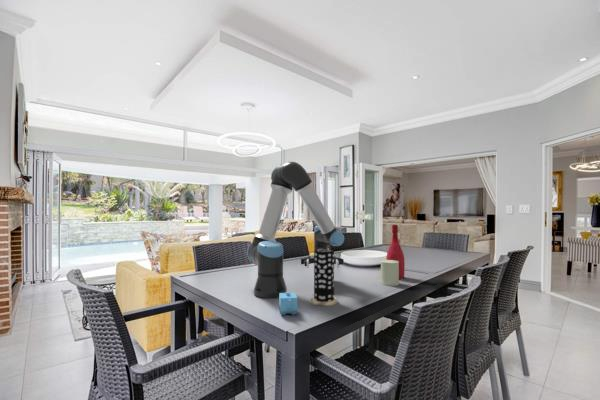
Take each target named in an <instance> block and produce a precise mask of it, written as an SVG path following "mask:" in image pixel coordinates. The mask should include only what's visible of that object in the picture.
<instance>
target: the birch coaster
mask: <svg viewBox="0 0 600 400" xmlns="http://www.w3.org/2000/svg"><path fill="white" fill-rule="evenodd" d="M310 303H311V304H312V305H314V306H319V307H331V306H335V305H337V304H338V298H337V297H335V296H334V300H333V301H329V302H321V301H317V300H315V299H314V296H311V298H310Z"/></svg>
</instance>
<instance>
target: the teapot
mask: <svg viewBox="0 0 600 400" xmlns="http://www.w3.org/2000/svg"><path fill="white" fill-rule="evenodd" d="M278 303H279V306H278V307H279V312H280V314H281V315H282V316H286V314H287V315H288V314H291V315H294V316H295V315H296V314H298V296H297V294H296V292H290V291H287V292H286V293H279V297H278Z"/></svg>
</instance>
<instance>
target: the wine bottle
mask: <svg viewBox="0 0 600 400" xmlns="http://www.w3.org/2000/svg"><path fill="white" fill-rule="evenodd" d="M391 233H392V237H391V244H390V245H389V248H388V249H387V253H386V258H385V260H395V261H398V262H399V280H402V279H404V278H405V268H406V267H405V256H404V251H403V248H402V247H401V244H400V242H399V234H398V233H399V226H398V225H397V224H392V225H391Z"/></svg>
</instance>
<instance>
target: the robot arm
mask: <svg viewBox="0 0 600 400" xmlns="http://www.w3.org/2000/svg"><path fill="white" fill-rule="evenodd" d="M270 176H271V177H270V179H271V182H270V183H271V184H270V188H271V192H270V197H269V199H268V201H267V205H266V208H265V212H264V215H263V217H262V220H261V224H260V227H259V231H258V232H257V234H255V235H254V237H253V238H252V239H253V240H252V242H251V243H250V244H249V245H248V246H247V247H248V248H247V250H246V255H247V258H248V260H249V261H250V262H251V263H252V264H254V265H256V266H257V278H256V282H255V284H254V285H255V286H254V287H253V295H254V296H256V297H258V298H263V299H275V298H279V293H286V292H288V288H287V285H286V282H285V281H286V280H285V278H284V252H285V251H284V246H283V243H281V242H279V241H276V239H275V237H276V235H277V232H278V228H279V225H280V223H281V218H282V215H283V212H284V209H285V205H286V202H287V198H288V195H289V194H291V193H292V192H293V189H294V191H295V192H297V193H298V194H299V196H300V197H301V199H302V201H303V203H304V204H305V206H306V207H307V210H308V212H309V213H310V215H311V216H312V218H313V220H314V222H315V224H316V226H314V229H313V230H314V231H313V240H314V241H313V243H314V245H313V246H314V247H313V249H314V250H320V249H326V250H329V248H328V247H329V246H333V247H339V246H342V245H343V244H344V242H345V235H344V234H343V232H341V231H339V230H337V228H336V226H335V224H334V222H333V220H332V219H331V217H330V215H329V213H328V211H327V210H326V208H325V206H324V205H323V203H322V200H321V199H320V197H319V195H318V194H317V191H316V190H315V188H314V187H313V181H312V178H311V177H310V175H309V174H308V172H307V171H306V169H305V168H304V167H303V166H302V165H301V164H300V163H298V162H296V161H288V162H286V163H283V164H279V165H277V166H276V167H275V168H273V170H272V172H271V175H270ZM311 264H314V256H313V257H312V256H311V255H309V256H306V257H302V258H300V265H304V267H306V268H309V265H311ZM334 265H335V266H336V268H339V266H340V265H344V258H341V257H337V256H335V255H334Z"/></svg>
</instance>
